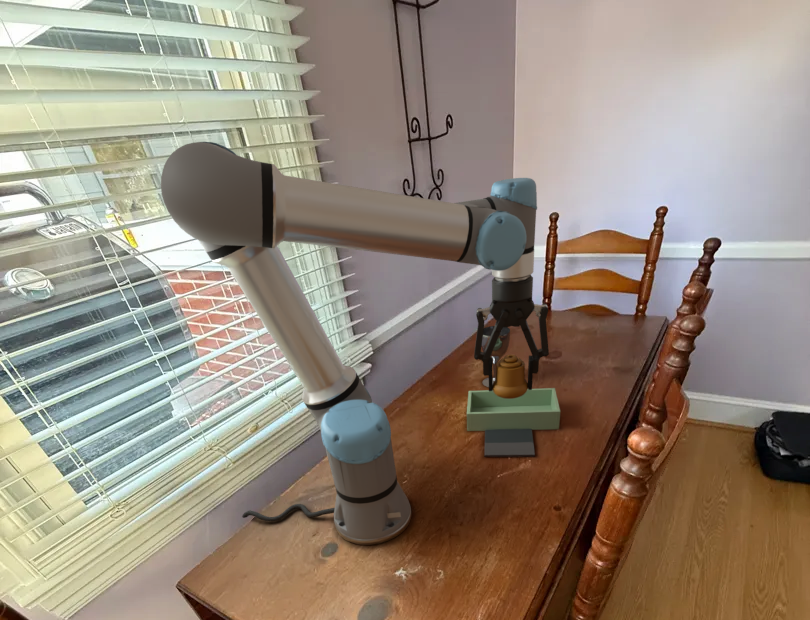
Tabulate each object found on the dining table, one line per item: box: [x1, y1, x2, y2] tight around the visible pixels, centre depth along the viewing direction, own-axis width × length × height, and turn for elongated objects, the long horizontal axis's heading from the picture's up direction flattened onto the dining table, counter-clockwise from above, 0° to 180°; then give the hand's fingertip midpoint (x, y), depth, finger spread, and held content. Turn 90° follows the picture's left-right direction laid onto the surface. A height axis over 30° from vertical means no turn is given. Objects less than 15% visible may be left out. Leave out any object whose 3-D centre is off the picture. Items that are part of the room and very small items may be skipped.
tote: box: [466, 387, 561, 432], centre depth 118 cm, size 22×12×5 cm, turn 82°
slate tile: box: [483, 429, 536, 458], centre depth 110 cm, size 11×11×1 cm
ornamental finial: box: [492, 354, 528, 399], centre depth 100 cm, size 8×8×8 cm
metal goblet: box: [481, 325, 511, 388], centre depth 132 cm, size 8×8×15 cm
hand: (510, 387), depth 102 cm, fingers closed on ornamental finial, 7 cm apart
